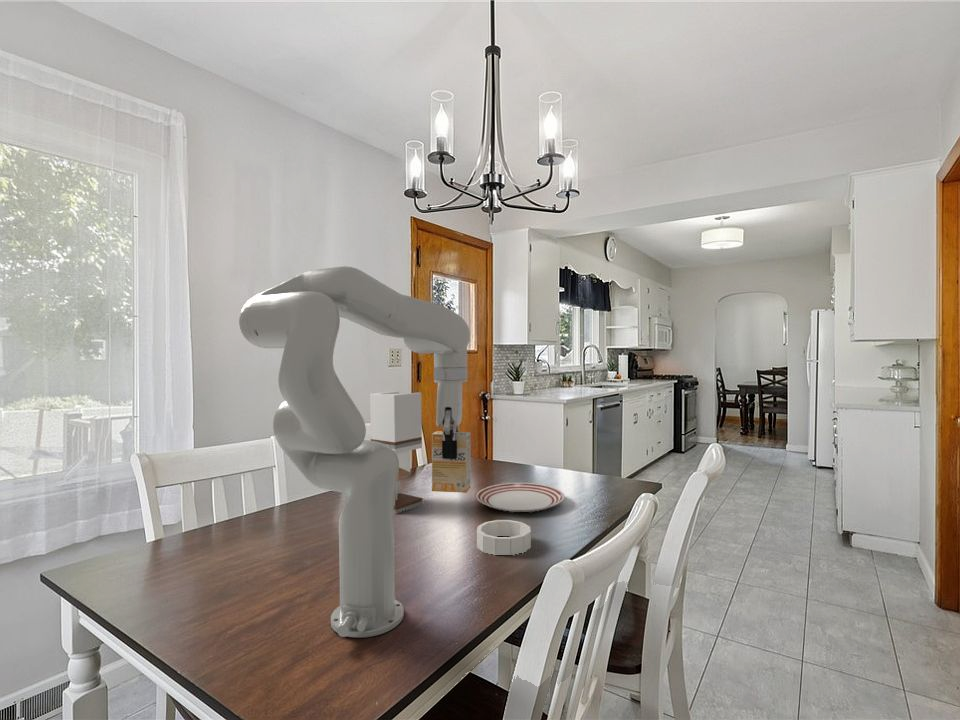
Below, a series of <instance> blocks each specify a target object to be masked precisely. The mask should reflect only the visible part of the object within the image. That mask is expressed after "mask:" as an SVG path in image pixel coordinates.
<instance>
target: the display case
mask: <svg viewBox="0 0 960 720" xmlns="http://www.w3.org/2000/svg"><path fill="white" fill-rule="evenodd" d="M369 403H370V404H369V405H370V406H369V409H370V410H369V412H370V413H369V416H370V417H369V419H370V421H369V422H370V431H369V432H370V441H376V442H380V443H383V444H386V445H388V446H389V447H390V448H392V449H393V450H394V452H395V453H396V455H397V457H398V461H399V473H398V479H397V484H396V490H395V498H394V515H397V514H400V513H403V512H405V510H406V511H409V510H412V509H414V507H415V508H416V507H420V506H423V500H424V499H423V497H419V496H414V495H411V494H406V493H402V492H401V481H402V480H403V479H405V478H407V477H409V476H410V475H411V451H414V450H418V449H422V448H423V440H422V439H423V435H422V434H423V430H422V429H423V427H422V426H423V425H422V418H423V417H422V415H423V413H422V392H412V393H411V392H410V393H400V391H398V390H397V391H396V390H395V391H386V392H377V393H376V392H374V393H369ZM408 509H409V510H408ZM402 511H403V512H402Z"/></svg>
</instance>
